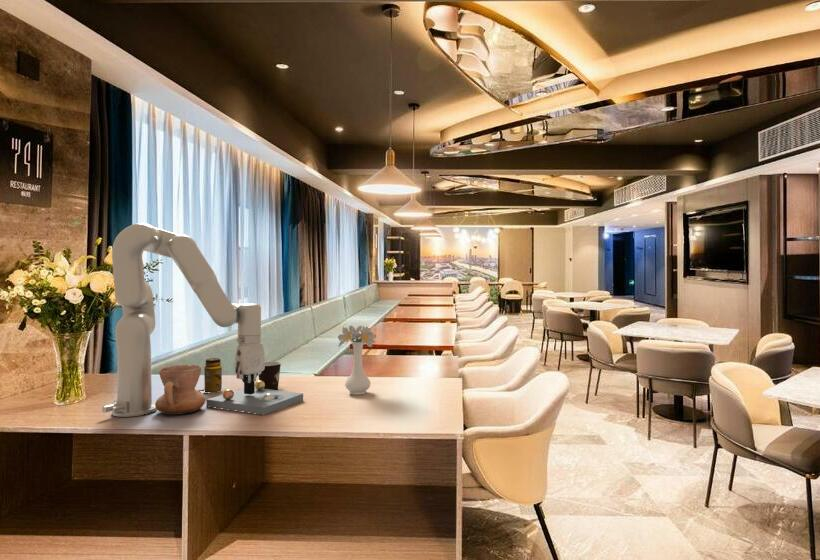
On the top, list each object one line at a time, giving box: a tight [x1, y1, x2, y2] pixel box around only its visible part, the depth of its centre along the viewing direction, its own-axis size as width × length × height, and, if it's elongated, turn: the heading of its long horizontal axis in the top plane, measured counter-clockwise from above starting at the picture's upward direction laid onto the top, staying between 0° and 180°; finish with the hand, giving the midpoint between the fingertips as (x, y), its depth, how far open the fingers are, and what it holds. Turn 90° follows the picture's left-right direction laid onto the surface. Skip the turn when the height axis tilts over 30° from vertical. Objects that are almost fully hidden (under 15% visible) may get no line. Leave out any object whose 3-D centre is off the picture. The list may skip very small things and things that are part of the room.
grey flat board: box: [206, 388, 304, 416], centre depth 170 cm, size 24×20×2 cm
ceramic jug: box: [154, 363, 206, 415], centre depth 160 cm, size 18×14×14 cm
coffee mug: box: [257, 361, 282, 391], centre depth 191 cm, size 12×9×10 cm
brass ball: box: [255, 379, 265, 390], centre depth 179 cm, size 4×4×4 cm
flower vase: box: [337, 325, 377, 396], centre depth 186 cm, size 13×18×25 cm
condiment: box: [196, 357, 223, 393], centre depth 188 cm, size 7×8×12 cm
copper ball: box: [222, 388, 234, 400], centre depth 166 cm, size 4×4×4 cm
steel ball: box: [263, 393, 275, 400], centre depth 168 cm, size 4×4×4 cm
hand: (249, 393), depth 171 cm, fingers closed
